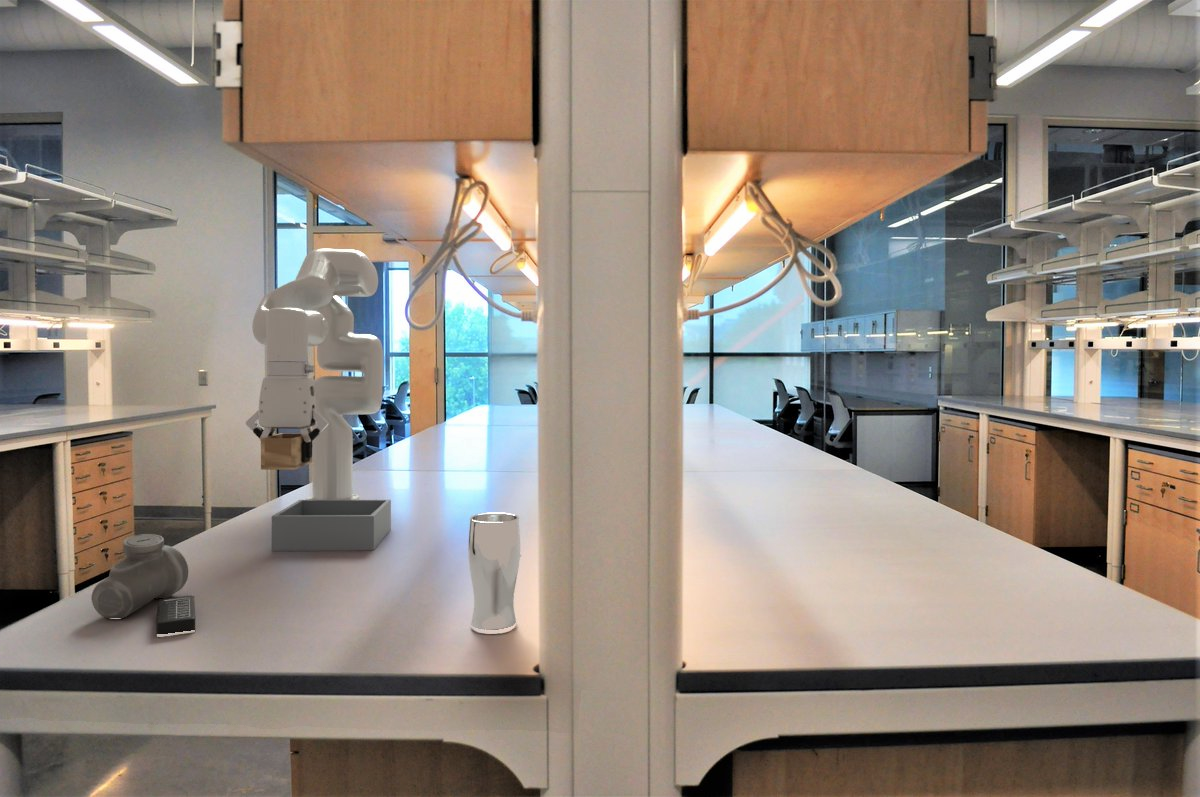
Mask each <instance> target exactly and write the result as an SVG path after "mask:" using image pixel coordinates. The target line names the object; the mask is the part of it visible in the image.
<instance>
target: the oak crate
mask: <svg viewBox="0 0 1200 797" xmlns="http://www.w3.org/2000/svg"><path fill="white" fill-rule="evenodd" d="M302 442H303V437H302V435H301V432H296V433H295V432H294V433H293V432H289V433H288V432H287V433H286V432H285V433H284V432H280V433H276V434H275V433H274V434H273V435H272V436H268V437H264V438H261V441H260V470H264V471H265V470H266V471H267V470H268V471H269V470H273V471H274V470H276V471H277V470H279V471H282V470H283V471H284V470H286V471H287V470H288V471H289V470H290V471H291V470H292V471H295V470H298V469H301V468H303V467H305V466H308V465H310V464H312V458H310V461H308V462H306V463H303V462H302V461H301V444H302Z"/></svg>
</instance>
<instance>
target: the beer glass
mask: <svg viewBox="0 0 1200 797" xmlns="http://www.w3.org/2000/svg"><path fill="white" fill-rule="evenodd" d="M520 530H521V529H520V516H518V515H517V514H514V513H507V512H484V513H477V514H474V515H471V516H470V518H469V530H468V544H467V546H468V548H467V550H468V552H467V553H468V554H467V555H468V557H467V558H468V565H469V572H470V573H469V574H470V580H471V583H472V584H471V585H472V589H473V590H472V591H473V602H474V603H473V612H472V618H471V622H470V626H471V625H472V626H473V627H475V628H478V629H484V630H485V629H486V630H499V629H504V628H508V627H511V626H513V625H514V624H515V623H516V624H517V619H516V614H515V605H514V603H515V602H514V598H515V590H516V585H517V584H516V583H517V579H518V573H519V566H520V560H521V531H520Z"/></svg>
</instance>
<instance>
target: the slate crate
mask: <svg viewBox="0 0 1200 797" xmlns="http://www.w3.org/2000/svg"><path fill="white" fill-rule="evenodd" d="M391 530H392V501H391V499H359V500H306V499H299V500H297V501H295V502H294V503H292V504H290V505H289V506H287V507H285V508H283V509H281V510H279V511H278V512H277V513H275V514H274V515H272V516H271V552H282V551H283V552H291V551H293V552H295V551H296V552H297V551H299V552H301V551H302V552H303V551H304V552H305V551H308V552H309V551H311V552H313V551H317V552H318V551H320V552H321V551H375V549H376V548H377V547H378V546H379V545H380V543H381V542H382V541H383V540H384V539H385V537H387V535H388V534H389V533H390V532H391Z"/></svg>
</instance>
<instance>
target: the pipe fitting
mask: <svg viewBox="0 0 1200 797" xmlns="http://www.w3.org/2000/svg"><path fill="white" fill-rule="evenodd" d="M122 550H123V551H124V559H122V560H120V561H119V562H117V563H115V564H113V565H112V566H111V568H110V570H109V575H108V577H106V578H104V579H102V580H101V581H100V582H98V583H97V584H96V585H95V587H94V588H93V590H92V592H91V603H92V605H93V608H94V610H95V611H96V612H97V613H98V614H99V615H100V616H101V617H103V618H105V617H106V618H105V619H107V618H123V619H124V617H125V618H127V617H128V616H130V615H131V614H134V613H135V612H136V611H137V610H138V609H140V608H142V607H143V606H145V605H146V604H149V602H151V601H153V600H159V599H158V598H163V599H165V598H170V597H171V596H173V595H174V594H176V593H178V592H179V591H180V590H182V589H183V587H185V585H186V583H187V581H188V578H189V566H188V564H187V562H188V561H186V558H185V557H184V556H183V554H182V553H181V552H180V551H179V550H178V549H177V548H174V547H172V546H171V545H166V544H165V538H164V537H163V536H162V535H159V534H155V533H154V534H153V533H144V534H143V533H142V534H136V535H132V536H131V535H130V537H129V536H128V537H127V538H125V539H124V540H123V541H122ZM154 598H156V599H154Z"/></svg>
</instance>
